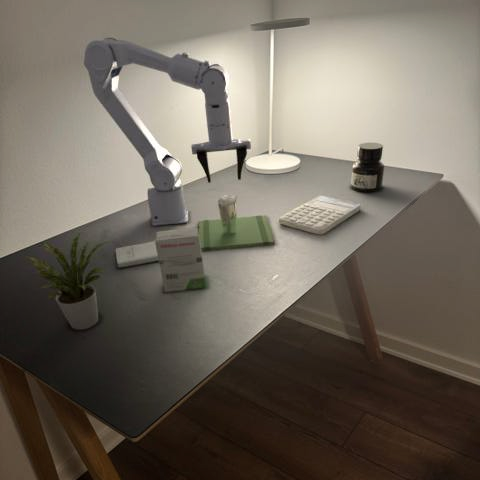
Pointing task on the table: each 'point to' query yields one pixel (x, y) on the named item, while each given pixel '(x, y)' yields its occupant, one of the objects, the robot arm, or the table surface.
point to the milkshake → (228, 214)
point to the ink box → (180, 259)
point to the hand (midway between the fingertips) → (224, 180)
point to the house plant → (73, 285)
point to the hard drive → (136, 254)
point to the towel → (246, 235)
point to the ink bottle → (368, 168)
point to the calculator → (320, 214)
